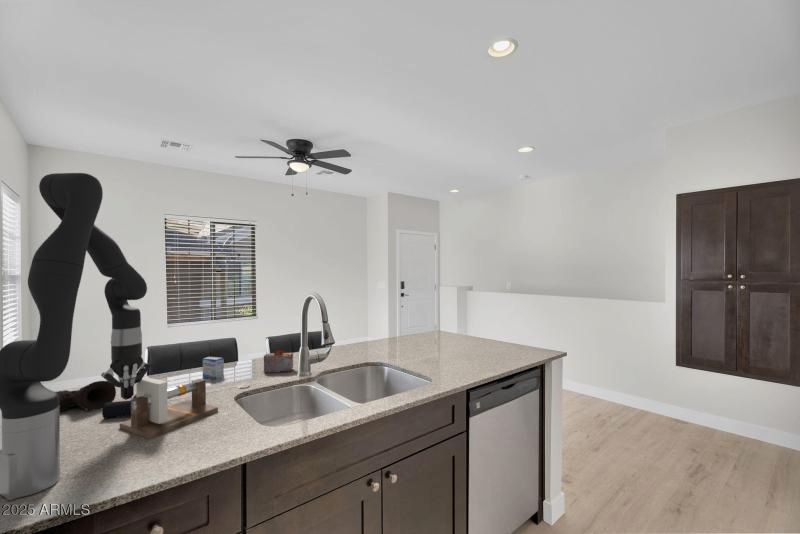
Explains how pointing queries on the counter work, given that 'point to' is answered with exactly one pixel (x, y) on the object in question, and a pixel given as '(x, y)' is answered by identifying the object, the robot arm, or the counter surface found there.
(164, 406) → the white flat block
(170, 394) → the steel pipe
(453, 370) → the counter surface
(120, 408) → the pipe connector
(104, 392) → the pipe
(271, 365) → the food item
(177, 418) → the pipe stand
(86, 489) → the counter surface
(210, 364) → the medicine box
